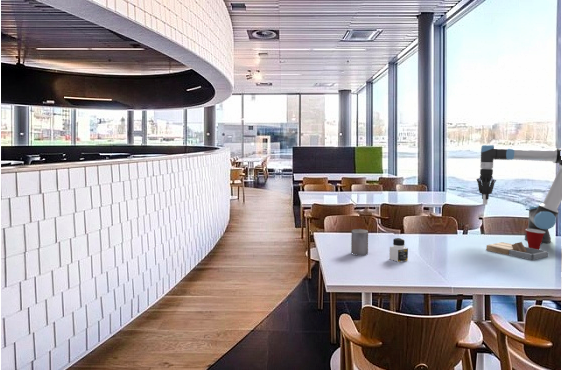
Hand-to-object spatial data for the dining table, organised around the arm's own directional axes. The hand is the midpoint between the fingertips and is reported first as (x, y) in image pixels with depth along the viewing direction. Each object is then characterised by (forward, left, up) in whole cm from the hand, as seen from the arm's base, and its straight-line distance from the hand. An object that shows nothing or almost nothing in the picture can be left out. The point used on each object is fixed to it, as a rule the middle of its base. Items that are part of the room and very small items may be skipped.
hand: (485, 204), depth 297 cm
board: (+14, +24, -24) cm, 37 cm away
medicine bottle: (+85, +6, -25) cm, 89 cm away
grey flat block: (+14, +38, -24) cm, 47 cm away
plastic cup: (-5, +31, -25) cm, 40 cm away
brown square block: (+14, +31, -22) cm, 41 cm away
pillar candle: (+94, -16, -25) cm, 98 cm away
